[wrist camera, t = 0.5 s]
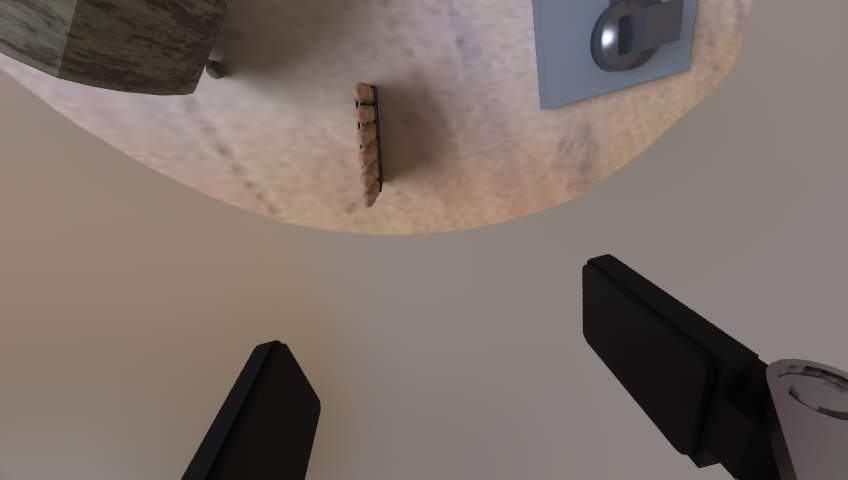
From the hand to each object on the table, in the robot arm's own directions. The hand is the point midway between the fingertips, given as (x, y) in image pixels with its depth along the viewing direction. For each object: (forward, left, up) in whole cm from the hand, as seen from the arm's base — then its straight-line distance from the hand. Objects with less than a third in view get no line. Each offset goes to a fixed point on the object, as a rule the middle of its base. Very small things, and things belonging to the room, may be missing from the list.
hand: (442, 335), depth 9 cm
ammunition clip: (-4, -3, -30) cm, 30 cm away
